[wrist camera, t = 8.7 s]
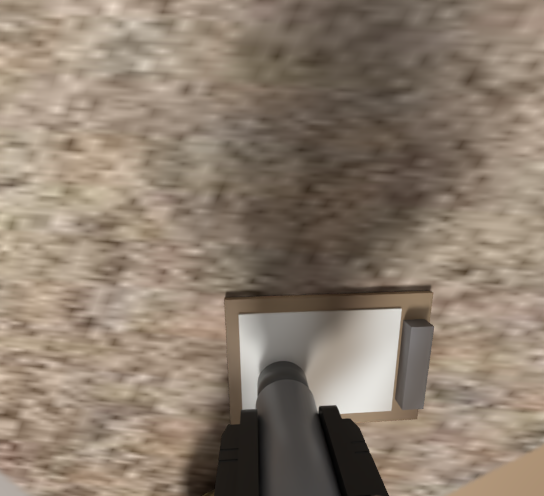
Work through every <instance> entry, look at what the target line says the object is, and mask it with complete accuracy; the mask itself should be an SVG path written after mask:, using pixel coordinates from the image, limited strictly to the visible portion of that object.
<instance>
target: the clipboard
mask: <svg viewBox="0 0 544 496" xmlns="http://www.w3.org/2000/svg"><path fill="white" fill-rule="evenodd" d="M432 299H433V292H431V291H408V292H378V293H348V294H318V295H288V296H259V297H229V298H225V299H224V305H225V325H226V344H227V364H228V383H229V403H230V422H231V425H233V424H240V415H241V410H246V409H255V406H256V400H257V381H258V377H259V375H260V373H261V372H262V370H263V369H264V368H265V367H267V366H268V365H270V364H272V363H274V362H278V361H289V362H292V363H295V364H297V365H298V366H299V367H301V368H302V370H303V371H304V373H305V375H306V378H307V382H308V386H309V389H310V390H311V392H312V394H313V396H314V400H315V403H316V407H317V410H318V411H319V406H327V405H336V406H337V407H338V410H339V413H340V415H341V418H342V419H346V418H350V419H351V420H352V421H353V422H354V423H364V422H380V421H396V420H411V419H417V416H418V409H423V406H424V399H425V391H426V384H427V376H428V369H429V361H430V354H431V346H432V339H433V331H434V326H433V325H432V324H430V323H429V322H430V315H431V307H432Z"/></svg>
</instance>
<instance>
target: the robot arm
mask: <svg viewBox="0 0 544 496" xmlns="http://www.w3.org/2000/svg"><path fill="white" fill-rule="evenodd" d="M318 414H319V418H320V421H321V425H322V428H323V432H324V435H325V439H326V443H327V446H328V450H329V453H330V457H331V460H332V464H333V467H334V471H335V474H336V478H337V482H338V485H339V489H340V492H341V496H389V495H388V493H387V490H386V488H385V486H384V484H383V481H382V479H381V477H380V474H379V472H378V470H377V467H376V465H375V463H374V461H373V458H372V456H371V454H370V453H369V449H368V447H367V444H366V443H365V440H364V438H363V435H362V433H361V431H360V428H359V427H358V426H357V425H356V424H355V423H354V422H353V421H352V420H351V419H350V418H346V419H342V418H341V415H340V413H339V410H338V407H337V406H336V405H327V406H319V411H318ZM214 496H259V481H258V412H257V409H246V410H241V415H240V424H233V425H228V426H227V428H226V430H225V431H224V433H223V435H222V438H221V446H220V453H219V462H218V469H217V476H216V484H215V492H214Z"/></svg>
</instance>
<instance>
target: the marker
mask: <svg viewBox="0 0 544 496" xmlns="http://www.w3.org/2000/svg"><path fill="white" fill-rule="evenodd" d="M255 409H257V412H258V481H259V496H341V492H340V489H339V485H338V482H337V478H336V474H335V471H334V467H333V464H332V460H331V457H330V453H329V450H328V446H327V443H326V439H325V435H324V432H323V428H322V425H321V421H320V418H319V414H318V410H317V407H316V403H315V400H314V396H313V394H312V392H311V390H310V389H309V386H308V382H307V378H306V375H305V373H304V371H303V370H302V368H301V367H299V366H298V365H297V364H295V363H292V362H289V361H278V362H274V363H272V364H270V365H268V366H267V367H265V368H264V369H263V370H262V372H261V373H260V375H259V377H258V381H257V400H256V406H255Z"/></svg>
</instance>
